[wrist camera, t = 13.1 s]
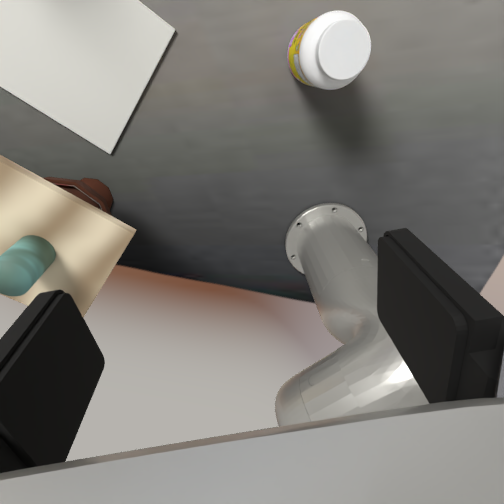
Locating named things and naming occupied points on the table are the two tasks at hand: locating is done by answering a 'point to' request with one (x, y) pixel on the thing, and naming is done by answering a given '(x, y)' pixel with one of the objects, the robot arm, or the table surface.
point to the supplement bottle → (329, 50)
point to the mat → (81, 60)
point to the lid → (53, 239)
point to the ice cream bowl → (86, 191)
